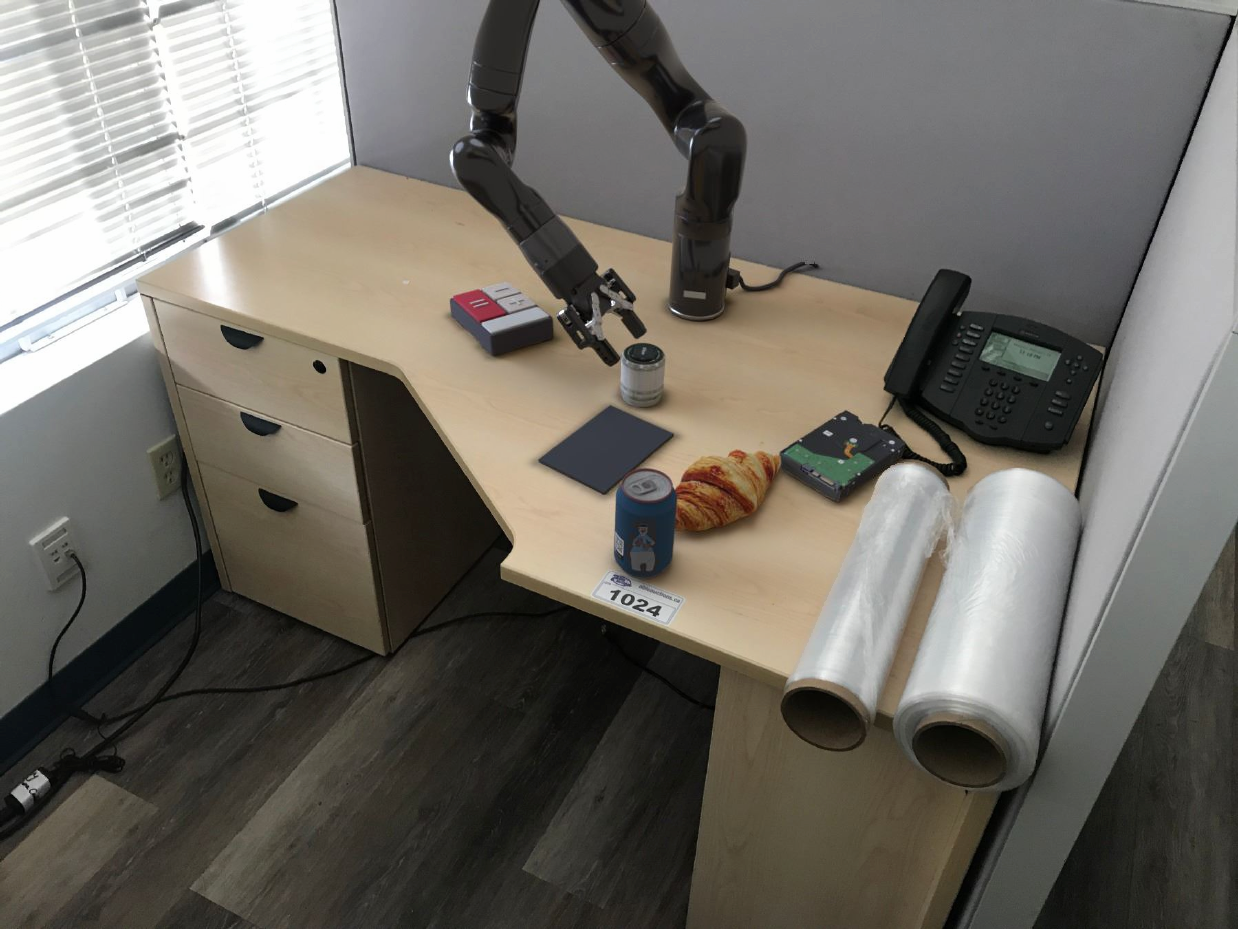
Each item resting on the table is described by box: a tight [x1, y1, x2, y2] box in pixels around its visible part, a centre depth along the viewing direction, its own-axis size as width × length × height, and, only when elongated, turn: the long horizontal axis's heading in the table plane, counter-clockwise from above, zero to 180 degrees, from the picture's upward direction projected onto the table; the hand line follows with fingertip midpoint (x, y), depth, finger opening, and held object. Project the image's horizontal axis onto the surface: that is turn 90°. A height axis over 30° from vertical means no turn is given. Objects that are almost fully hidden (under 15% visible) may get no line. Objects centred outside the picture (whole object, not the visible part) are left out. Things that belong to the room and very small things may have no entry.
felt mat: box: [537, 404, 675, 495], centre depth 134 cm, size 16×11×1 cm
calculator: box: [449, 281, 555, 357], centre depth 157 cm, size 11×4×15 cm
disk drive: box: [778, 409, 907, 502], centre depth 132 cm, size 10×3×15 cm
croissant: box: [674, 449, 781, 532], centre depth 124 cm, size 21×10×8 cm, turn 133°
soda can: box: [613, 467, 677, 579], centre depth 113 cm, size 7×7×12 cm
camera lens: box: [619, 342, 667, 408], centre depth 142 cm, size 6×6×8 cm
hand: (629, 349), depth 140 cm, fingers open, 8 cm apart
